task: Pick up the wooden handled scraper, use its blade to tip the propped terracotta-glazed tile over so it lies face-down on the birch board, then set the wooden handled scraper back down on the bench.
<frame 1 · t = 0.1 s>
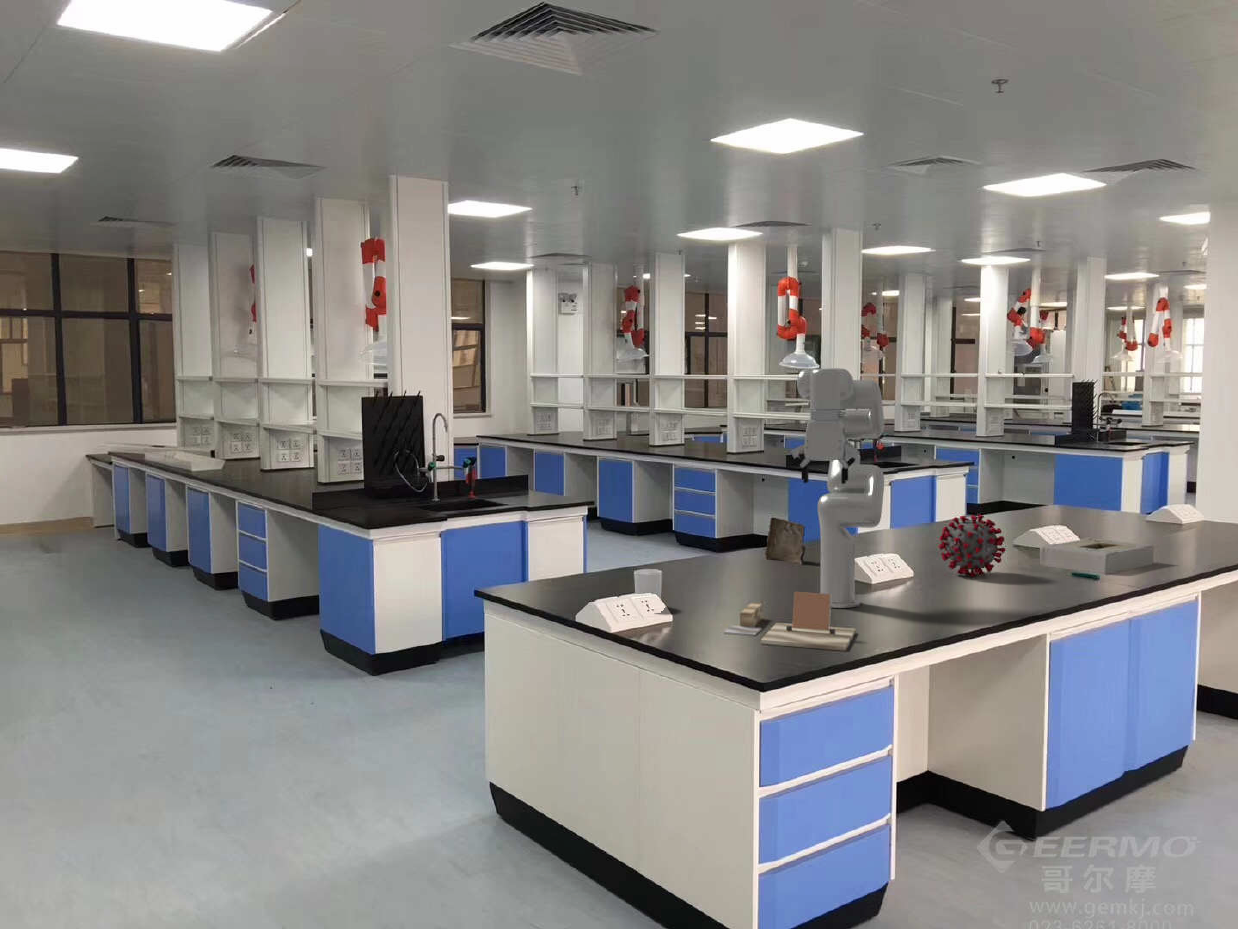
hand: (824, 483, 249), 37 cm above the table, tool pointing down, fingers open, 9 cm apart
board: (809, 638, 236), on the table
box: (1096, 566, 331), on the table
virus model: (971, 576, 313), on the table
tile: (811, 611, 239), point 6 cm above the table, hinge at 70.0°
mineral sample: (786, 562, 343), on the table
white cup: (648, 607, 273), on the table
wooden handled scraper: (751, 623, 252), on the table
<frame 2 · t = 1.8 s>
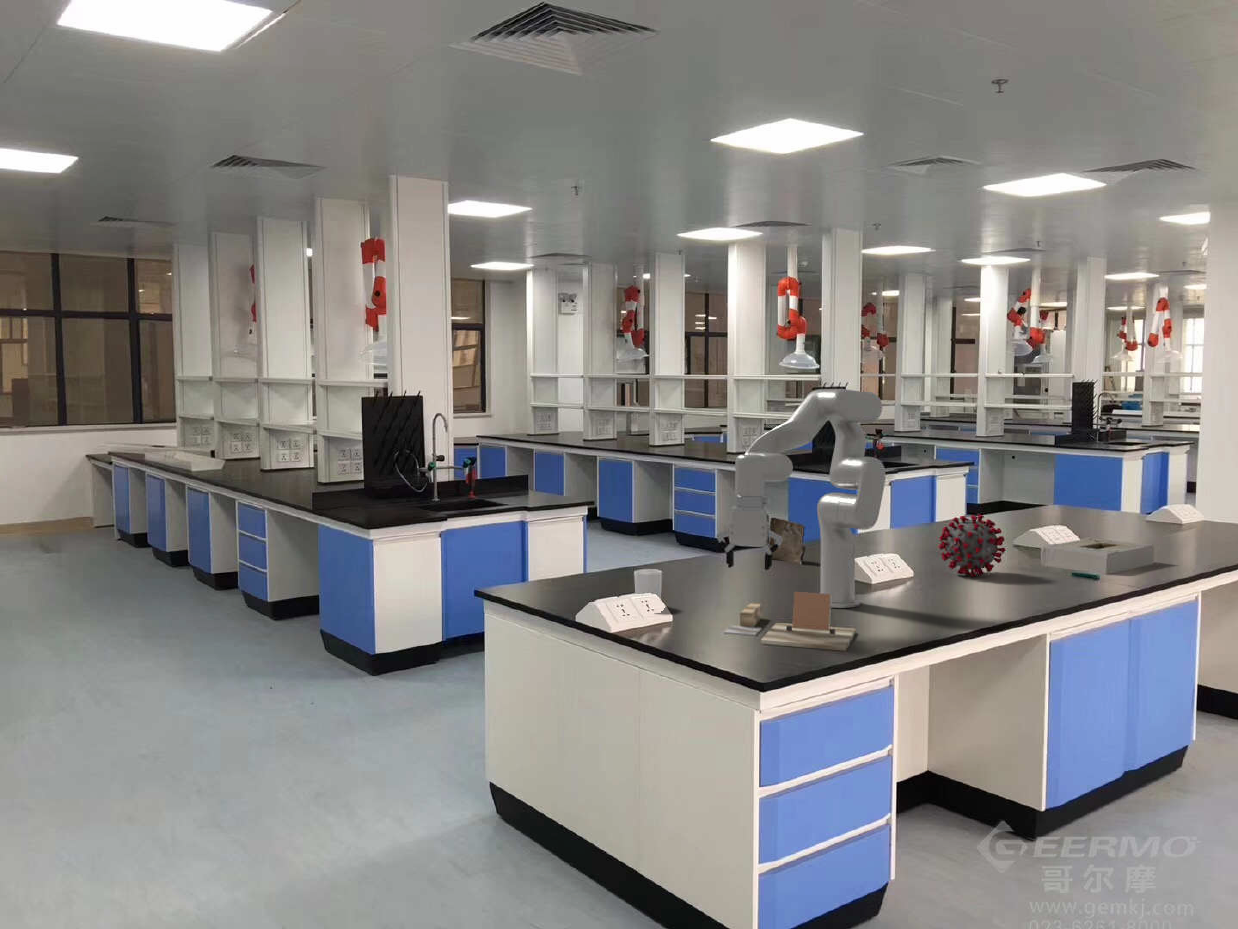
hand: (748, 568, 249), 15 cm above the table, tool pointing down, fingers open, 9 cm apart
nothing on the table moved.
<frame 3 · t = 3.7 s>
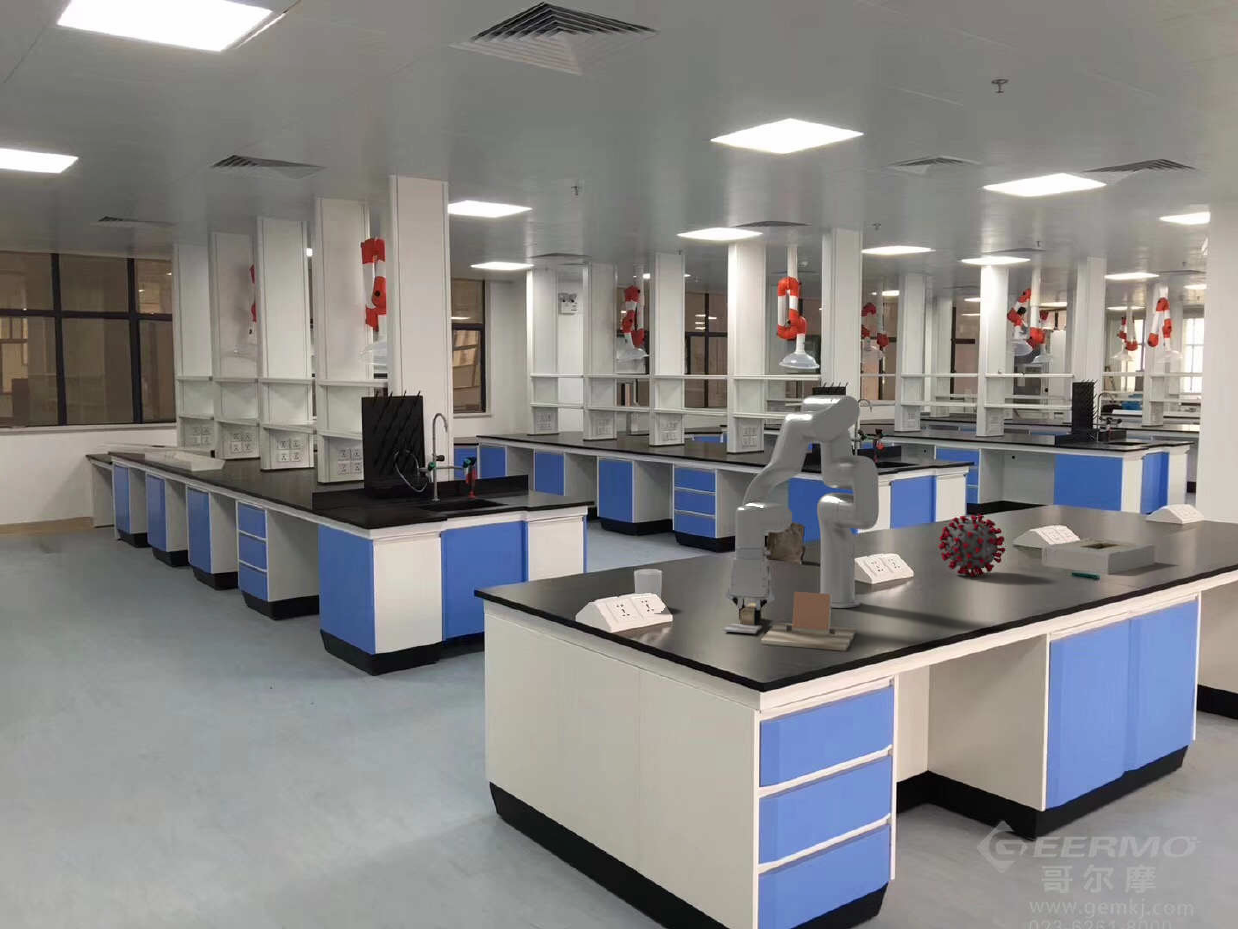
hand: (750, 622, 251), 0 cm above the table, tool pointing down, fingers closed on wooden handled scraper, 2 cm apart
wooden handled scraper: (751, 622, 252), on the table, touching gripper
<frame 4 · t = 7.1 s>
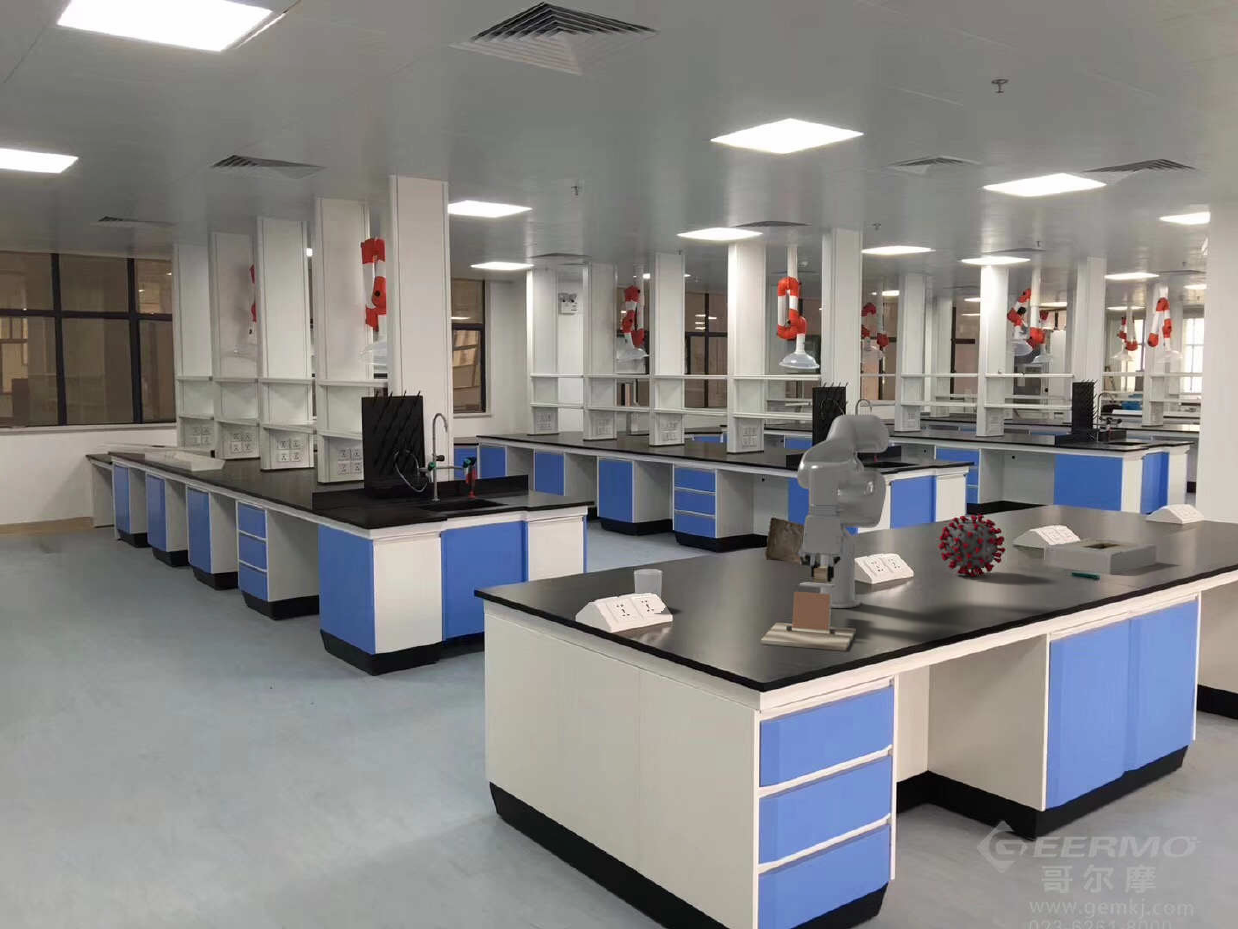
hand: (822, 579, 254), 11 cm above the table, tool pointing down, fingers closed on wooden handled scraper, 3 cm apart
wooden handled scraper: (823, 583, 255), point 10 cm above the table, tilted 7°, touching gripper
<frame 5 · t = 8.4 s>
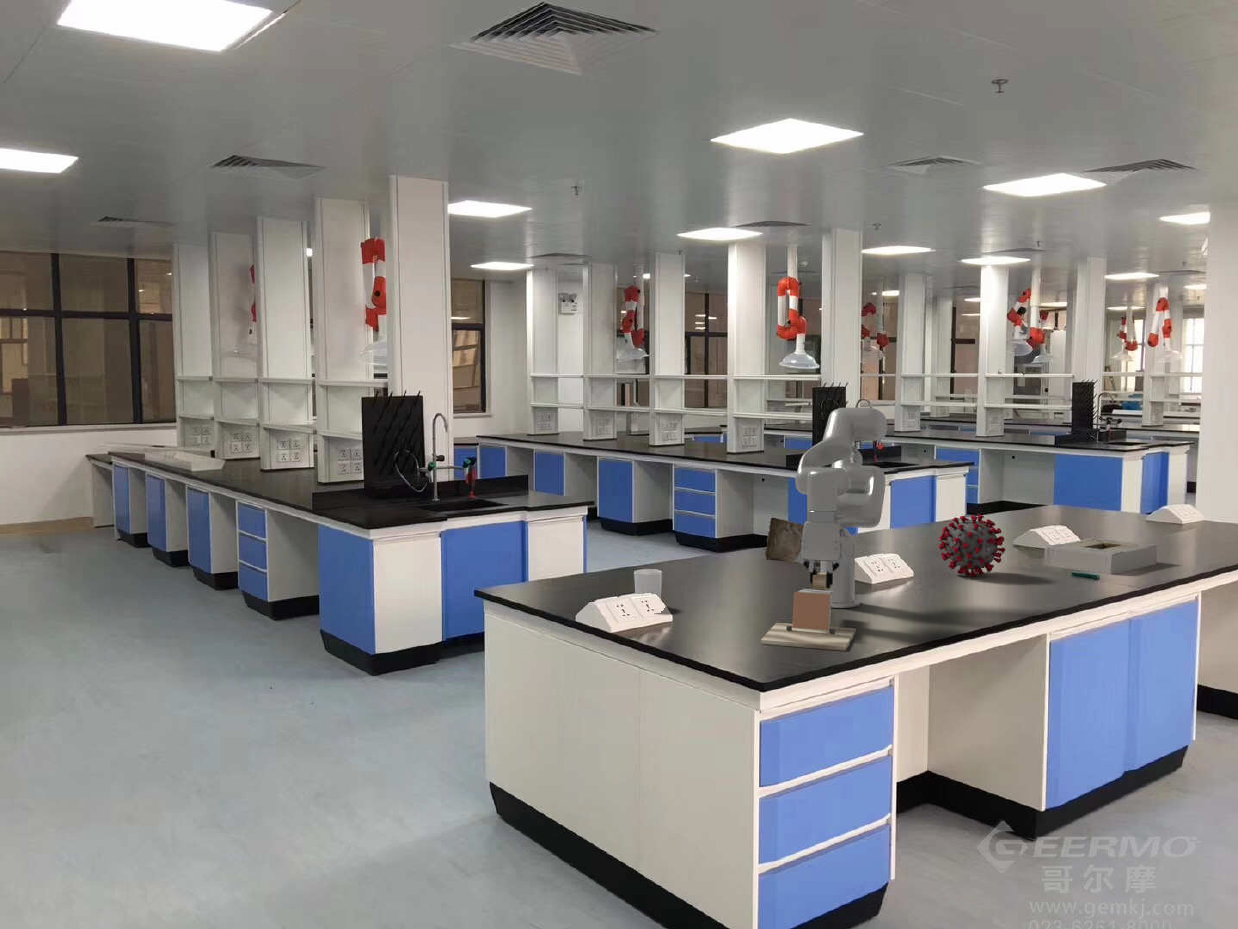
hand: (821, 586, 252), 9 cm above the table, tool pointing down, fingers closed on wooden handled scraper, 3 cm apart
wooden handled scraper: (822, 589, 253), point 8 cm above the table, tilted 6°, touching gripper
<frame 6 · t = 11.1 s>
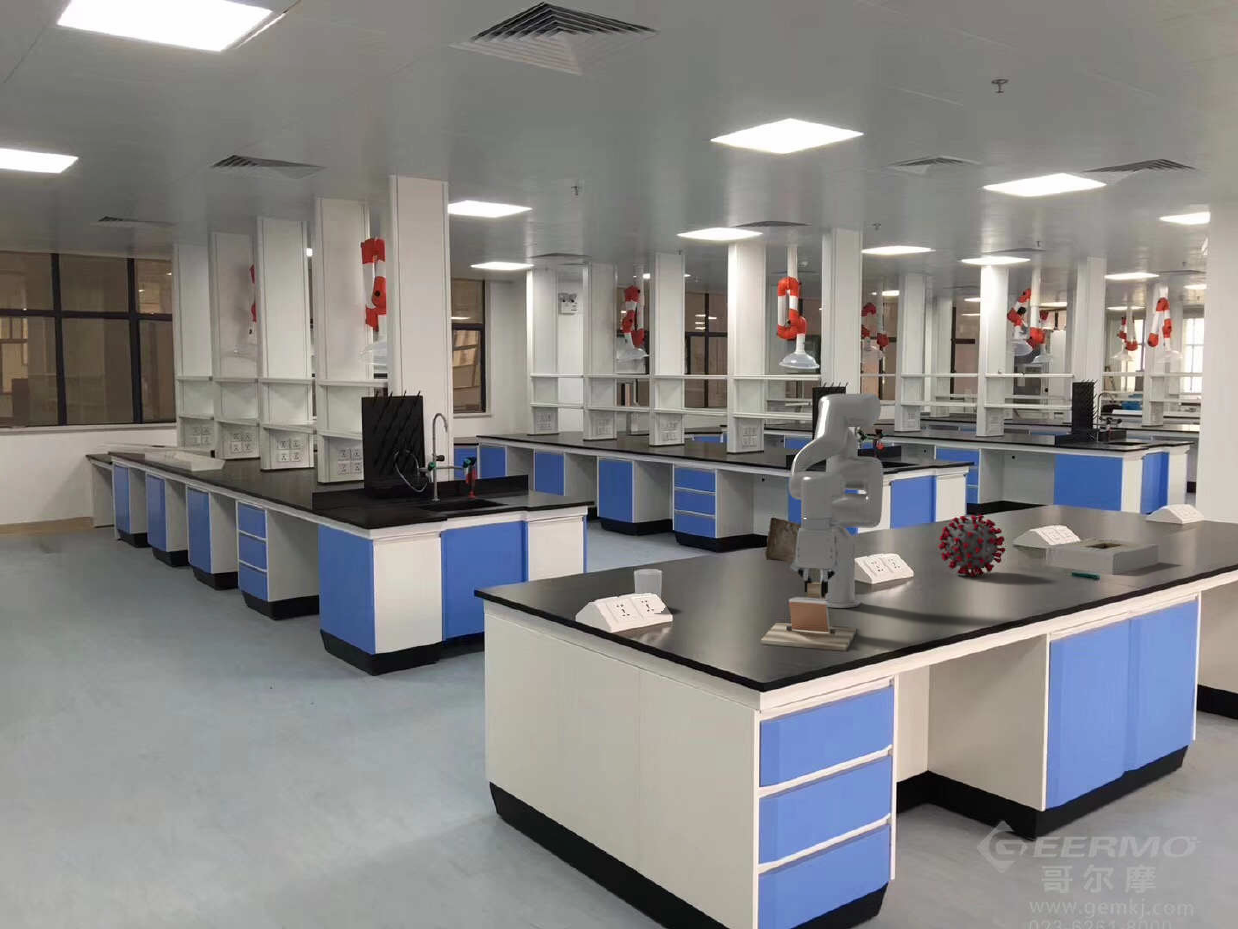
hand: (816, 595, 245), 9 cm above the table, tool pointing down, fingers closed on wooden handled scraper, 3 cm apart
tile: (809, 615, 235), point 6 cm above the table, hinge at 118.9°, touching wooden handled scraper
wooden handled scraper: (816, 599, 246), point 7 cm above the table, tilted 9°, touching gripper, tile
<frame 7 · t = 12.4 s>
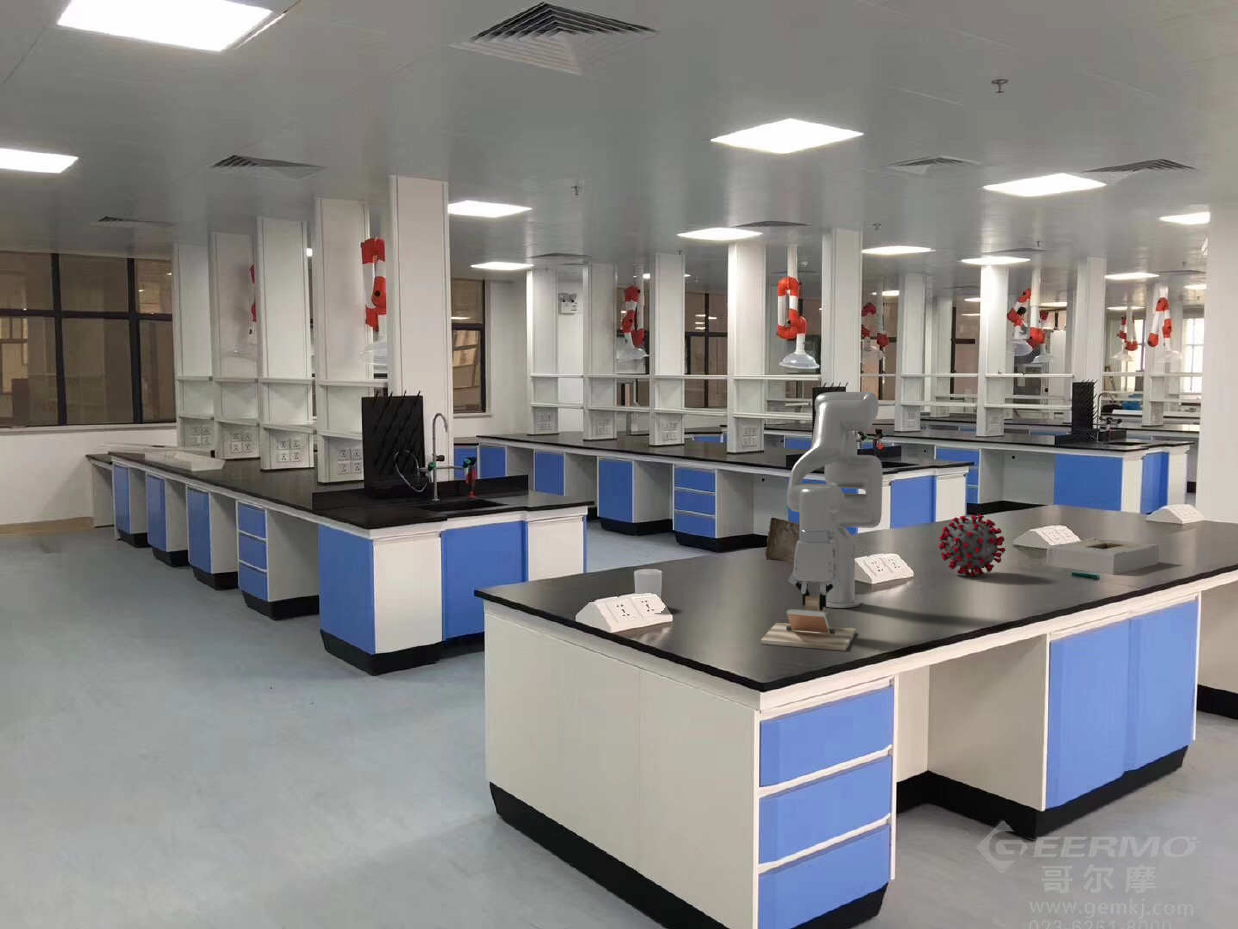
hand: (814, 608, 242), 6 cm above the table, tool pointing down, fingers closed on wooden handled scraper, 3 cm apart
tile: (808, 621, 234), point 4 cm above the table, hinge at 142.2°, touching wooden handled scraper
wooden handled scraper: (814, 613, 243), point 4 cm above the table, tilted 13°, touching gripper, tile
when the fingers open (2 cm above the table, at t = 19.1 s): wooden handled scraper drops 1 cm, on the table.
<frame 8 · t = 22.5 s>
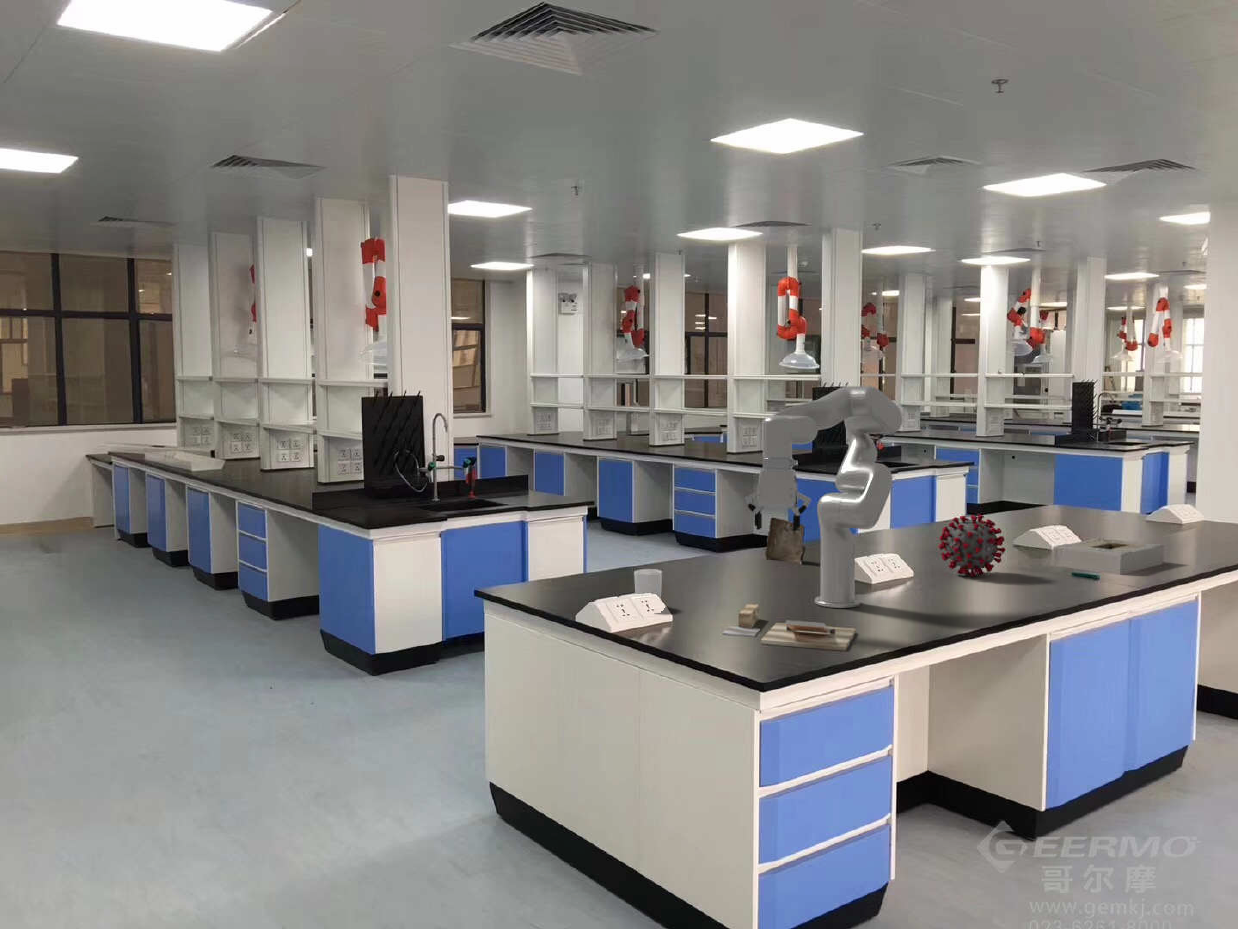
hand: (777, 529, 252), 24 cm above the table, tool pointing down, fingers open, 9 cm apart
box: (1108, 566, 330), on the table
tile: (807, 627, 233), point 3 cm above the table, hinge at 158.5°
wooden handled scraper: (748, 624, 251), on the table
everything else where it was.
at the end: tile at +158° (first picture: +70°); the gripper is holding nothing; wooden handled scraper touching table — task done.
